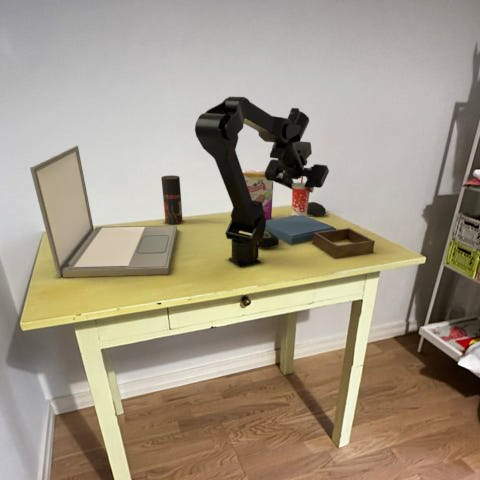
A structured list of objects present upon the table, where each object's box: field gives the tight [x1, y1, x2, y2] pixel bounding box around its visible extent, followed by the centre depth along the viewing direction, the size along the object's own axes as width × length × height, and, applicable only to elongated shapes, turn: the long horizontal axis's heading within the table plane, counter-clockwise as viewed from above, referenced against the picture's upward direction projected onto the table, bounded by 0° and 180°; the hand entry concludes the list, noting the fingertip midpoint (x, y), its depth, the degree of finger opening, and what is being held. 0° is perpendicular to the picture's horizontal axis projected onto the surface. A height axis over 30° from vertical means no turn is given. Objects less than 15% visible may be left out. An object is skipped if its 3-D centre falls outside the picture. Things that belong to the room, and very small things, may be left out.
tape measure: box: [258, 231, 280, 249], centre depth 118 cm, size 7×7×4 cm
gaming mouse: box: [306, 201, 327, 217], centre depth 149 cm, size 6×15×4 cm, turn 23°
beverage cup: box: [291, 176, 311, 216], centre depth 123 cm, size 6×6×14 cm
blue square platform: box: [264, 214, 337, 245], centre depth 130 cm, size 18×18×2 cm
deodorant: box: [161, 174, 184, 226], centre depth 136 cm, size 6×6×15 cm
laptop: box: [29, 145, 178, 278], centre depth 109 cm, size 35×28×26 cm
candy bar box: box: [242, 169, 274, 220], centre depth 138 cm, size 11×5×16 cm, turn 93°
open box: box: [311, 227, 376, 259], centre depth 117 cm, size 13×13×4 cm
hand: (303, 190), depth 124 cm, fingers closed on beverage cup, 6 cm apart
